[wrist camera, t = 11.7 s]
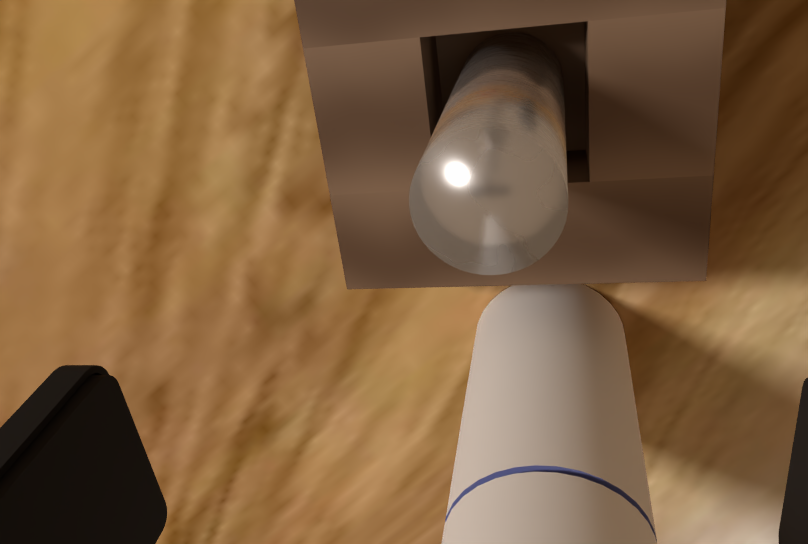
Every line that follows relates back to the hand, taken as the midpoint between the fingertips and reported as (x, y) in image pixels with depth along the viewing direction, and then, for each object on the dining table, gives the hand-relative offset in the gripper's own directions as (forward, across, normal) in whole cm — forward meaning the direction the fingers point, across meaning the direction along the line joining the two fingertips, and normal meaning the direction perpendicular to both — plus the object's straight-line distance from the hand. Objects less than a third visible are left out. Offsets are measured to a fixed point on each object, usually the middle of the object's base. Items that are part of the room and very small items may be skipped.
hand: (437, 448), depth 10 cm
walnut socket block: (+23, 0, +1) cm, 23 cm away
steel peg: (+22, 0, +1) cm, 22 cm away
